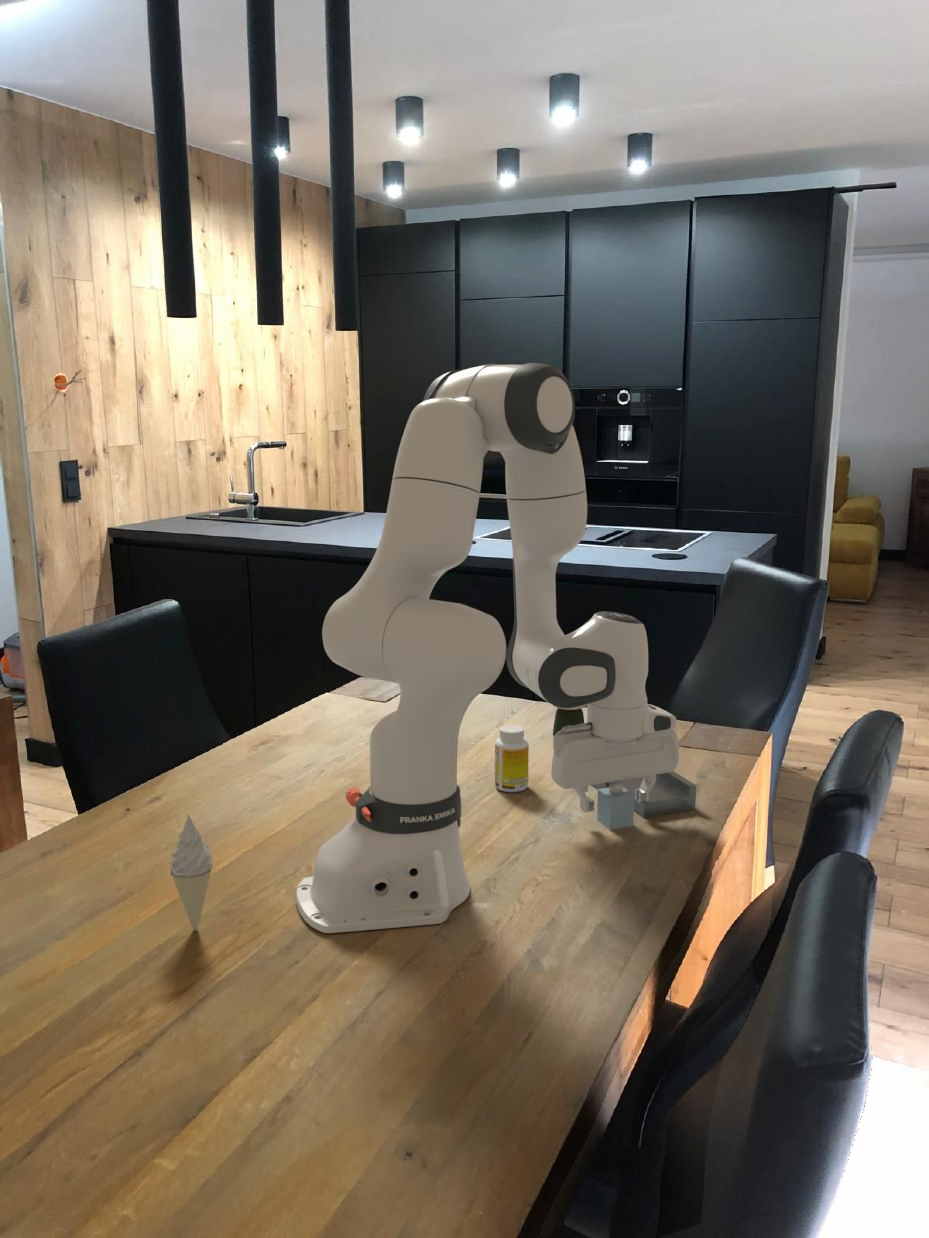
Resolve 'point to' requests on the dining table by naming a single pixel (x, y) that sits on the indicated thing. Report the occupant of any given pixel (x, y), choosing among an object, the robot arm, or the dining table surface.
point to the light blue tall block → (615, 806)
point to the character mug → (567, 717)
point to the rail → (661, 794)
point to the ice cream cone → (191, 871)
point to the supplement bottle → (511, 759)
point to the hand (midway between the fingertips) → (614, 805)
